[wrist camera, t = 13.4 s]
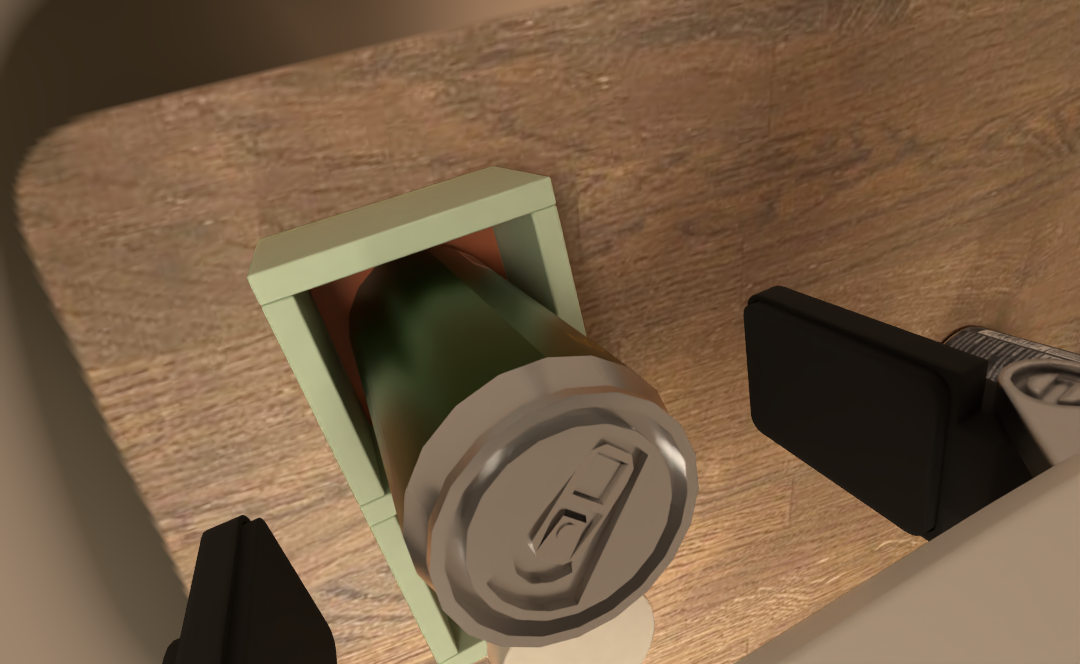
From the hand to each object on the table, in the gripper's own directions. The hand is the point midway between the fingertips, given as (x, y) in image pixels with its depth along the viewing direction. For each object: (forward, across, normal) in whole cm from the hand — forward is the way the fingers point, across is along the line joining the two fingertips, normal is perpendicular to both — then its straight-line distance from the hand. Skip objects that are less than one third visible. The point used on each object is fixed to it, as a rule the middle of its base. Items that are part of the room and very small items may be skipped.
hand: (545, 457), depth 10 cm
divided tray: (+12, 0, +4) cm, 12 cm away
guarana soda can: (+11, 0, +1) cm, 11 cm away
